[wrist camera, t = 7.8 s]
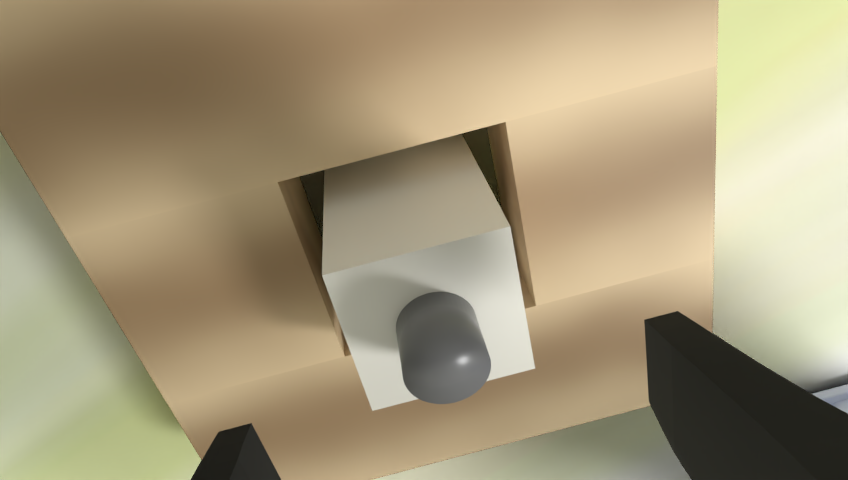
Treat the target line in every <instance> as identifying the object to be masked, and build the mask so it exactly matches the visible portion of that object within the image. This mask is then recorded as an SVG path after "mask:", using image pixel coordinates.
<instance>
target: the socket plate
mask: <svg viewBox="0 0 848 480" xmlns="http://www.w3.org/2000/svg"><path fill="white" fill-rule="evenodd" d="M717 49H718V0H0V132H1V133H2V135H3V137H4V138H5V140H6V142H7V143H8V145H9V146H10V148H11V150H12V151H13V153H14V155H15V156H16V158H17V159H18V161H19V163H20V164H21V166H22V168H23V169H24V171H25V173H26V174H27V176H28V177H29V179H30V181H31V182H32V184H33V186H34V187H35V189H36V190H37V192H38V194H39V195H40V197H41V199H42V200H43V202H44V204H45V205H46V207H47V208H48V210H49V212H50V213H51V215H52V217H53V218H54V220H55V221H56V223H57V225H58V226H59V228H60V230H61V231H62V233H63V235H64V236H65V238H66V239H67V241H68V243H69V244H70V246H71V248H72V249H73V251H74V253H75V254H76V256H77V257H78V259H79V261H80V262H81V264H82V266H83V267H84V269H85V270H86V272H87V274H88V275H89V277H90V279H91V280H92V282H93V284H94V285H95V287H96V288H97V290H98V292H99V293H100V295H101V297H102V298H103V300H104V301H105V303H106V305H107V306H108V308H109V310H110V311H111V313H112V315H113V316H114V318H115V319H116V321H117V323H118V324H119V326H120V328H121V329H122V331H123V332H124V334H125V336H126V337H127V339H128V341H129V342H130V344H131V346H132V347H133V349H134V350H135V352H136V354H137V355H138V357H139V359H140V360H141V362H142V363H143V365H144V367H145V368H146V370H147V372H148V373H149V375H150V377H151V378H152V380H153V381H154V383H155V385H156V386H157V388H158V390H159V391H160V393H161V394H162V396H163V398H164V399H165V401H166V403H167V404H168V406H169V408H170V409H171V411H172V412H173V414H174V416H175V417H176V419H177V421H178V422H179V424H180V426H181V427H182V429H183V430H184V432H185V434H186V435H187V437H188V439H189V440H190V442H191V443H192V445H193V447H194V448H195V450H196V452H197V453H198V455H199V457H200V458H201V460H202V459H203V457H204V455H205V454H206V452H207V450H208V448H209V447H210V445H211V443H212V442H213V440H214V438H215V437H216V435H217V433H218V432H219V431H223V430H227V429H231V428H234V427H238V426H242V425H246V424H250V423H252V425H253V427H254V429H255V431H256V433H257V434H258V436H259V438H260V440H261V442H262V444H263V446H264V448H265V450H266V452H267V454H268V455H269V457H270V459H271V461H272V463H273V465H274V467H275V469H276V471H277V473H278V474H279V476H280V478H281V480H372V479H376V478H380V477H383V476H387V475H391V474H395V473H398V472H402V471H406V470H410V469H414V468H417V467H421V466H425V465H429V464H432V463H436V462H440V461H444V460H448V459H451V458H455V457H459V456H463V455H466V454H470V453H474V452H478V451H482V450H485V449H489V448H493V447H497V446H501V445H504V444H508V443H512V442H516V441H519V440H523V439H527V438H531V437H535V436H538V435H542V434H546V433H550V432H553V431H557V430H561V429H565V428H569V427H572V426H576V425H580V424H584V423H587V422H591V421H595V420H599V419H603V418H606V417H610V416H614V415H618V414H621V413H625V412H629V411H633V410H637V409H640V408H644V407H648V406H651V405H650V403H649V396H648V378H647V360H646V342H645V324H644V320H645V319H649V318H653V317H656V316H660V315H664V314H668V313H672V312H675V311H679V312H680V313H682V314H683V315H685V316H687V317H688V318H690V319H691V320H693V321H694V322H696V323H698V324H699V325H701V326H702V327H704V328H705V329H707V330H708V331H710V332H711V333H712V325H713V270H714V215H715V160H716V105H717ZM484 127H487V131H488V136H489V142H490V147H491V153H492V158H493V164H494V169H495V175H496V180H497V185H498V191H499V196H500V202H501V207H502V211H503V213H504V215H505V217H506V219H507V221H508V223H509V225H510V227H511V233H512V238H513V244H514V250H515V256H516V261H517V267H518V273H519V279H520V284H521V290H522V296H523V302H524V307H525V313H526V319H527V325H528V330H529V336H530V342H531V348H532V353H533V359H534V365H535V369H531V370H528V371H524V372H520V373H516V374H512V375H508V376H505V377H501V378H497V379H493V380H489V381H486V382H485V384H484V385H483V386H482V387H481V388H480V389H479V390H478V391H477V392H476V393H475V394H473V395H472V396H470V397H468V398H466V399H464V400H461V401H458V402H455V403H450V404H433V403H428V402H425V401H422V400H420V399H417V400H413V401H409V402H405V403H401V404H397V405H394V406H390V407H386V408H382V409H378V410H374V411H372V409H371V406H370V403H369V401H368V398H367V395H366V392H365V390H364V387H363V384H362V382H361V379H360V376H359V374H358V371H357V368H356V366H355V363H354V360H353V358H352V355H351V352H350V350H349V347H348V344H347V341H346V339H345V336H344V333H343V331H342V328H341V325H340V323H339V320H338V317H337V315H336V312H335V309H334V307H333V304H332V301H331V299H330V296H329V293H328V291H327V288H326V285H325V282H324V280H323V277H322V250H323V240H322V238H321V235H320V232H319V229H318V227H317V224H316V221H315V218H314V216H313V213H312V210H311V207H310V205H309V202H308V199H307V196H306V194H305V191H304V188H303V185H302V183H301V180H300V177H299V176H303V175H307V174H311V173H314V172H318V171H322V170H326V169H329V168H333V167H337V166H341V165H345V164H348V163H352V162H356V161H360V160H363V159H367V158H371V157H375V156H379V155H382V154H386V153H390V152H394V151H398V150H401V149H405V148H409V147H413V146H416V145H420V144H424V143H428V142H432V141H435V140H439V139H443V138H447V137H450V136H454V135H458V134H462V133H466V132H469V131H473V130H477V129H481V128H484Z"/></svg>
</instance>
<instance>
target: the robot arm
mask: <svg viewBox="0 0 848 480" xmlns="http://www.w3.org/2000/svg"><path fill="white" fill-rule="evenodd" d="M644 324H645V342H646V360H647V378H648V396H649V403H650V405H651V407H652V409H653V411H654V413H655V415H656V417H657V419H658V421H659V423H660V426H661V428H662V430H663V432H664V434H665V436H666V437H667V439H668V441H669V443H670V445H671V447H672V449H673V451H674V453H675V455H676V456H677V458H678V459H679V461H680V462H681V464H682V466H683V467H684V469H685V470H686V472H687V473H688V475H689V476H690V478H691V479H692V480H848V384H846V385H843V386H839V387H835V388H831V389H827V390H824V391H820V392H816V393H812V394H811V393H809V392H807V391H806V390H804V389H802V388H800V387H799V386H797V385H795V384H794V383H792V382H790V381H789V380H787V379H785V378H784V377H782V376H780V375H779V374H777V373H775V372H773V371H772V370H770V369H768V368H767V367H765V366H763V365H762V364H760V363H759V362H757V361H755V360H754V359H752V358H751V357H749V356H747V355H746V354H744V353H743V352H741V351H739V350H738V349H736V348H735V347H733V346H732V345H730V344H728V343H727V342H725V341H724V340H722V339H721V338H719V337H718V336H716V335H715V334H713V333H711V332H710V331H708V330H707V329H705V328H704V327H702V326H701V325H699V324H698V323H696V322H694V321H693V320H691V319H690V318H688V317H687V316H685V315H683V314H682V313H680V312H679V311H675V312H672V313H668V314H664V315H660V316H656V317H653V318H649V319H645V320H644ZM191 480H281V478H280V476H279V474H278V473H277V471H276V469H275V467H274V465H273V463H272V461H271V459H270V457H269V455H268V454H267V452H266V450H265V448H264V446H263V444H262V442H261V440H260V438H259V436H258V434H257V433H256V431H255V429H254V427H253V425H252V423H250V424H246V425H242V426H238V427H234V428H231V429H227V430H223V431H219V432H218V433H217V435H216V437H215V438H214V440H213V442H212V443H211V445H210V447H209V448H208V450H207V452H206V454H205V455H204V457H203V459H202V461H201V462H200V464H199V466H198V468H197V469H196V471H195V473H194V475H193V476H192V478H191Z"/></svg>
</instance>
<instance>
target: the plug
mask: <svg viewBox="0 0 848 480" xmlns="http://www.w3.org/2000/svg"><path fill="white" fill-rule="evenodd" d="M322 277H323V280H324V282H325V285H326V288H327V291H328V293H329V296H330V299H331V301H332V304H333V307H334V309H335V312H336V315H337V317H338V320H339V323H340V325H341V328H342V331H343V333H344V336H345V339H346V341H347V344H348V347H349V350H350V352H351V355H352V358H353V360H354V363H355V366H356V368H357V371H358V374H359V376H360V379H361V382H362V384H363V387H364V390H365V392H366V395H367V398H368V401H369V403H370V406H371V409H372V411H374V410H378V409H382V408H386V407H390V406H394V405H397V404H401V403H405V402H409V401H413V400H417V399H420V400H422V401H425V402H428V403H433V404H450V403H455V402H458V401H461V400H464V399H466V398H468V397H470V396H472V395H473V394H475V393H476V392H477V391H478V390H479V389H480V388H481V387H482V386H483V385H484V384H485V382H486V381H489V380H493V379H497V378H501V377H505V376H508V375H512V374H516V373H520V372H524V371H528V370H531V369H535V365H534V359H533V353H532V348H531V342H530V336H529V330H528V325H527V319H526V313H525V307H524V302H523V296H522V290H521V284H520V279H519V273H518V267H517V261H516V256H515V250H514V244H513V238H512V233H511V227H510V225H509V223H508V221H507V219H506V217H505V215H504V213H503V211H502V209H501V208H500V206H499V204H498V202H497V200H496V198H495V196H494V194H493V192H492V190H491V189H490V187H489V185H488V183H487V181H486V179H485V177H484V175H483V173H482V171H481V170H480V168H479V166H478V164H477V162H476V160H475V158H474V156H473V154H472V152H471V151H470V149H469V147H468V145H467V143H466V141H465V139H464V137H463V135H462V134H458V135H454V136H450V137H447V138H443V139H439V140H435V141H432V142H428V143H424V144H420V145H416V146H413V147H409V148H405V149H401V150H398V151H394V152H390V153H386V154H382V155H379V156H375V157H371V158H367V159H363V160H360V161H356V162H352V163H348V164H345V165H341V166H337V167H333V168H329V169H326V170H324V209H323V250H322Z"/></svg>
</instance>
